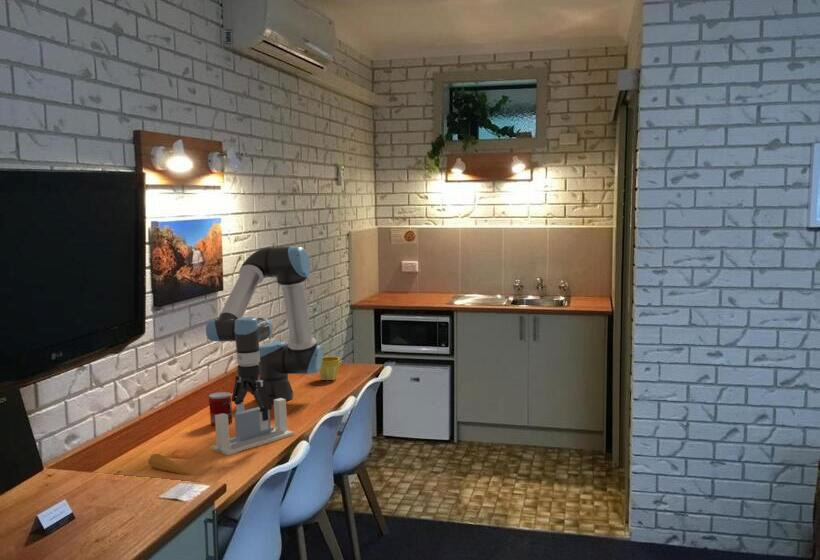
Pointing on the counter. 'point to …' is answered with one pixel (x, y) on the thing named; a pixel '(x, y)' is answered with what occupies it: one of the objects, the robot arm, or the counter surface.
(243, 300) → the robot arm
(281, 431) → the panel stand
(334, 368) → the plant pot
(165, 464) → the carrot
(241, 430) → the door panel
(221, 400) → the canned food
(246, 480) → the counter surface
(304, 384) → the counter surface
